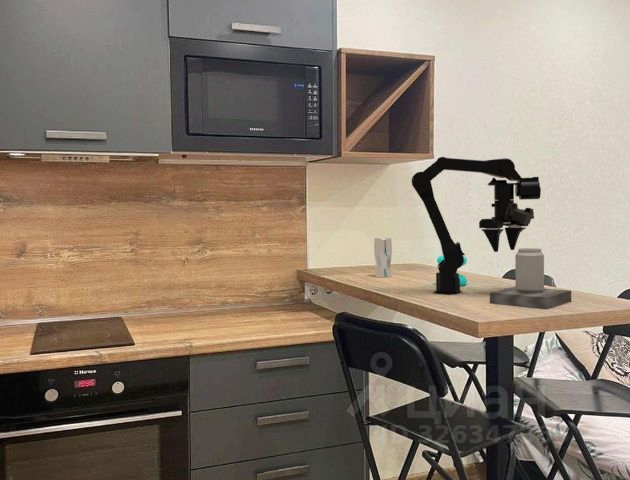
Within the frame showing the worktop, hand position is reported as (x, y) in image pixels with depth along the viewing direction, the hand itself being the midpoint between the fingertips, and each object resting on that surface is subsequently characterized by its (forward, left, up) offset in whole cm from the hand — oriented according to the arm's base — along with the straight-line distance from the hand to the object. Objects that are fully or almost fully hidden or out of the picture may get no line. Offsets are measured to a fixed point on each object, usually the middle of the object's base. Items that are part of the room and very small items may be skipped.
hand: (504, 250), depth 183 cm
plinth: (+14, -12, -13) cm, 23 cm away
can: (+14, -12, -10) cm, 21 cm away
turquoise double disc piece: (-23, +7, -13) cm, 27 cm away
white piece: (-57, +12, -13) cm, 60 cm away
